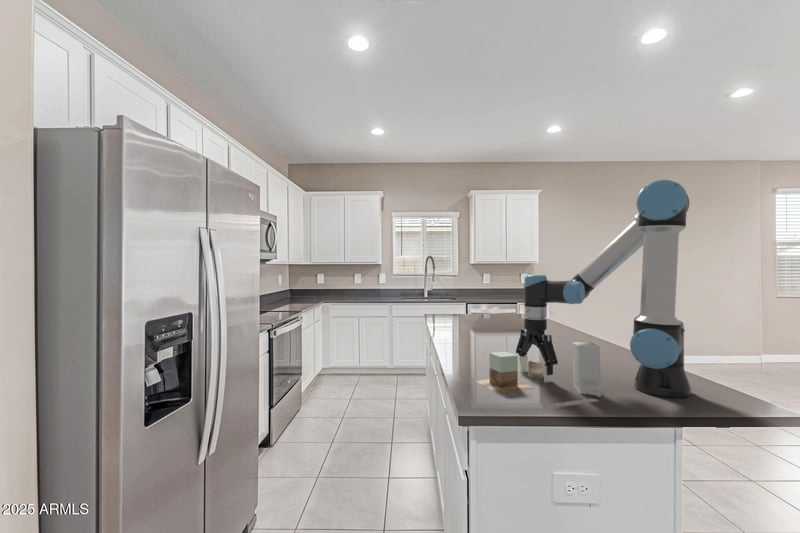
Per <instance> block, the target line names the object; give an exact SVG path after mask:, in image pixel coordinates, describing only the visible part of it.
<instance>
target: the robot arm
mask: <svg viewBox="0 0 800 533" xmlns="http://www.w3.org/2000/svg"><path fill="white" fill-rule="evenodd" d="M635 203H636V204H635V205H636V209H637V211H638V212H637V213H636V214H635V215H634V220H633V222H632V223H630V224H629V225H628V226H627V227H626V228H625V229H624V230H623V231H622V232H621V233H619V235H618V236H616V237H615V238H614V239H613V240H612V241H611V242H610V243H609V244H608V245H607V246H605V248H604V249H602V250H601V251H600V252H599V253H598V254H597V255H596V256H595V257H594V258H592V260H591V261H589V262H588V263H587V264H586V265H585V266H584V267H583V268H582V269H581V270H580V271H579V272H578V273H577V274H575V275H574V277H573V278H571V279H570V280H548V278H547V275H546V274H528V275H525V277H524V287H523V292H524V293H523V294H524V295H523V296H524V300H523V301H524V303H523V304H524V317H525V318H524V323H523V325H524V327H523V328H524V329H520V336H519V339H518V342H517V346H516V349H515V354H517V355H518V356H519V368H520V373H521V374H522V373H528V362H529V359H528V357H529V356H528V352H529V350H530V349H531V347H532V345H534V346H536V347H537V349H538V350H539V352H540V354H541V356H542V358H543V361H544V364H543V382H544V383H552V382H553V375H554V366H555V365H558V364H559V362H558V358H557V354H556V350H555V349H554V345H553V339H552V338H553V337H552V335H551V334H546V333H545V331H546V330H547V326H548V325H547V323H548V322H547V318H548V308H547V307H548V306H547V305H548V303H557V304H569V305H575V304H576V305H579V304H582V303H583V302H584V300H585V299H586V298H587V297H588V296H589V295H590V293H591V292H592V291H594V290H595V288H596V287H598V286H599V285H600V284H601V283H602V282H603V281H605V279H607V278H608V277H609V276H610V275H611V274H612V273H614V271H616V270H617V269H618V268H619V267H620V266H621V265H622V264H624V263H625V262H626V261H627V260H628V259H629V258H631V256H633V255H634V254H636V252H637V251H638V250H640V249H641V248H642V263H641V264H642V267H641V268H642V269H641V287H640V288H641V289H640V290H641V291H640V308H639V309H640V310H639V311H640V312H639V314H637V315H636V316H635V317H634V319H633V329H632V330H633V332H632V337H631V338H630V342H629V347H630V348H629V349H630V353H631V355H632V356H633V358H634V359H635V361H637V362H638V363H640V365H639V368H638V370H637V373H636V376H635V378H634V388H635V389H636V390H637V391H640V392H642V393H645V394H649V395H653V396H657V397H658V396H659V397H662V398H663V397H664V398H675V399H677V398H681V399H682V398H688V397H690V396H692V386H691V385H690V381H689V378H688V376H687V373H686V371H685V340H684V339H685V330H686V329H685V326H684V325H685V324H684V323H683V321H681V320H679V319H678V318H677V317H676V302H677V301H676V300H677V279H678V278H677V277H678V260H679V258H678V257H679V237H680V233H681V232H683V230H685V229H686V226H687V212H688V210H689V208H690V198H689V196H688V194H687V191H686V189H685V188H684V186H683V185H682V184H680V183H679V182H676V181H674V180H670V179H658V180H654V181H651V182H650V183H648V184H646V185H645V186H643V188H642V189H641V190H640V191H639V193H638V195H637V197H636V202H635Z"/></svg>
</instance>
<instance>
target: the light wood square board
mask: <svg viewBox="0 0 800 533" xmlns="http://www.w3.org/2000/svg"><path fill="white" fill-rule="evenodd" d="M474 382H476V383H478V384H479V385H481V386H483V387H485V388H487V389H488V390H490V391H492V392H494V393H496V394H500V393H507V392H509V393H510V392H515V391H516V392H517V391H525V390H531V389H532V390H533V389H535V387H533V386H531V385H528V384H526V383H524V382H522V381H519V380H518V386H514V387H506V388H499V387H497V386H495V385H493V384H491V383H490V378H486V379H477V380H474Z"/></svg>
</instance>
